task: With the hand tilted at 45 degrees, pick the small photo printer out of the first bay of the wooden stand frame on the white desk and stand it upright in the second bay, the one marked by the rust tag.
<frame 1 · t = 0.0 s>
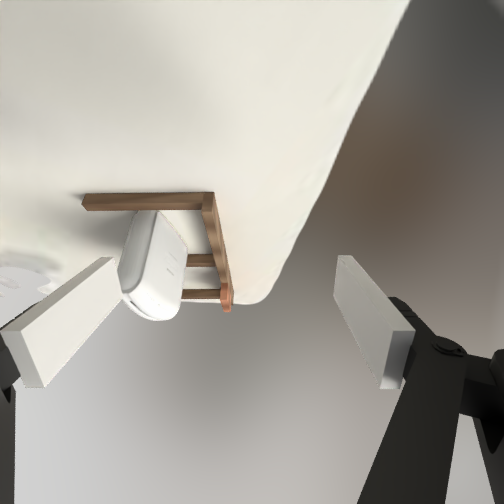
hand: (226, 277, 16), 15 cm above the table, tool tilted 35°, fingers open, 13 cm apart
wooden stand frame: (177, 256, 44), on the table
photo printer: (164, 229, 38), on the table
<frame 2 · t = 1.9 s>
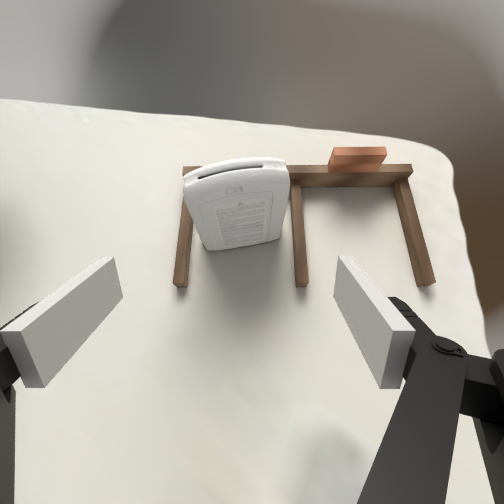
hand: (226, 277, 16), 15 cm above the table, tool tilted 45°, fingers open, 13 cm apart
wooden stand frame: (297, 232, 34), on the table
photo printer: (242, 234, 34), on the table
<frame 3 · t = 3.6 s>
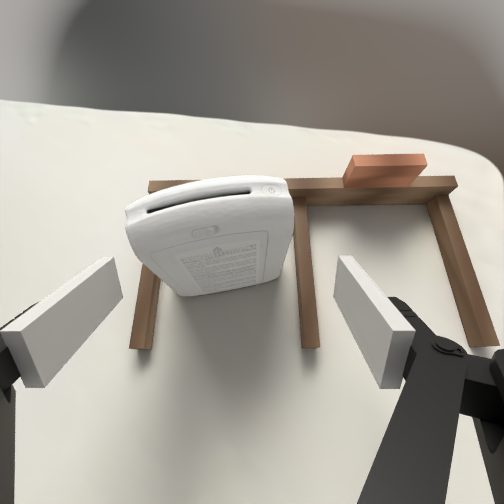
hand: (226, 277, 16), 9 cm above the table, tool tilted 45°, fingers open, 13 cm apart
wooden stand frame: (302, 269, 25), on the table
photo printer: (228, 271, 25), on the table
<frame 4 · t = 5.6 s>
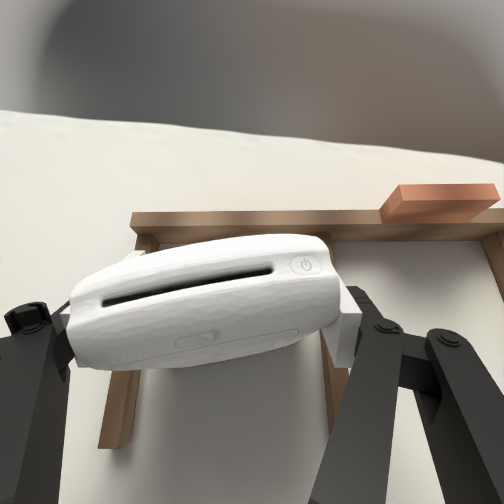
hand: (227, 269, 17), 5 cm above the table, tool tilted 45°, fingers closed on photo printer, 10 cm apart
wooden stand frame: (327, 328, 19), on the table
photo printer: (232, 328, 20), on the table, touching gripper
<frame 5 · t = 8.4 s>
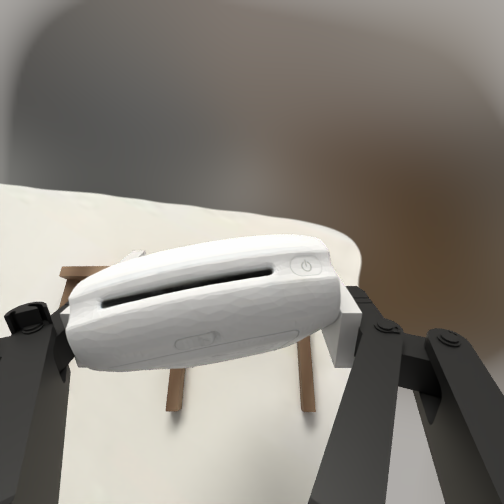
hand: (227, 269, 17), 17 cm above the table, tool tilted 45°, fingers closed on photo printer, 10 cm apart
wooden stand frame: (182, 340, 31), on the table
photo printer: (232, 329, 20), point 12 cm above the table, touching gripper
when the fingers open (6 cm above the table, at t = 11.4 s): photo printer drops 1 cm, on the table.
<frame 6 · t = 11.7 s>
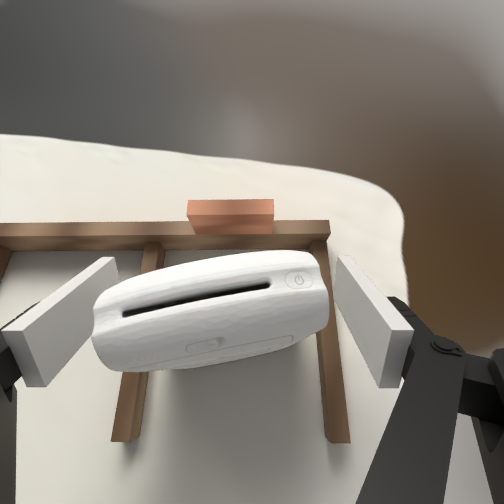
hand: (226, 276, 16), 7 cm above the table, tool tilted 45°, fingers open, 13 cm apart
wooden stand frame: (146, 330, 21), on the table
photo printer: (233, 331, 21), on the table
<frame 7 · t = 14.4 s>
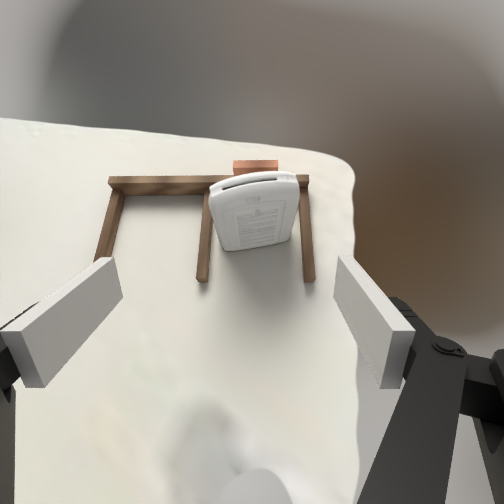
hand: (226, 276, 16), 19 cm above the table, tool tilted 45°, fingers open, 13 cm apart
wooden stand frame: (207, 235, 38), on the table
photo printer: (255, 236, 38), on the table
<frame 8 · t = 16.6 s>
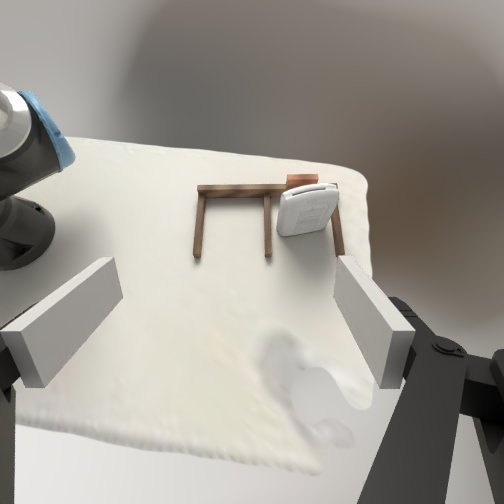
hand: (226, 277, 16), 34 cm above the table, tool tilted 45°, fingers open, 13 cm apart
wooden stand frame: (267, 225, 55), on the table
photo printer: (300, 226, 55), on the table
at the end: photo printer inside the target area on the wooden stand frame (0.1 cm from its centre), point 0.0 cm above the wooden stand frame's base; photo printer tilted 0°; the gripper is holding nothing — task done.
